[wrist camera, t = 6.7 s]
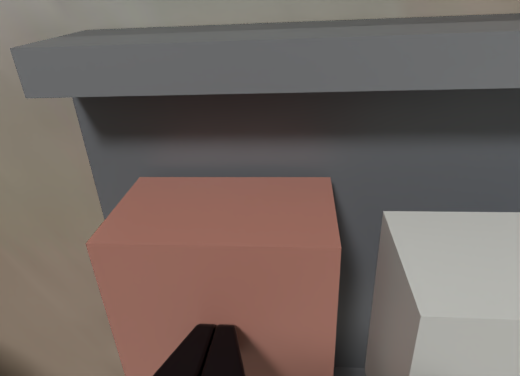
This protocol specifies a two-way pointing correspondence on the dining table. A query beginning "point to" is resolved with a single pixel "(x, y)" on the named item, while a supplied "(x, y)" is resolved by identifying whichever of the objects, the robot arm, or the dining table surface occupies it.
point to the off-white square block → (446, 295)
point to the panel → (304, 119)
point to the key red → (223, 270)
